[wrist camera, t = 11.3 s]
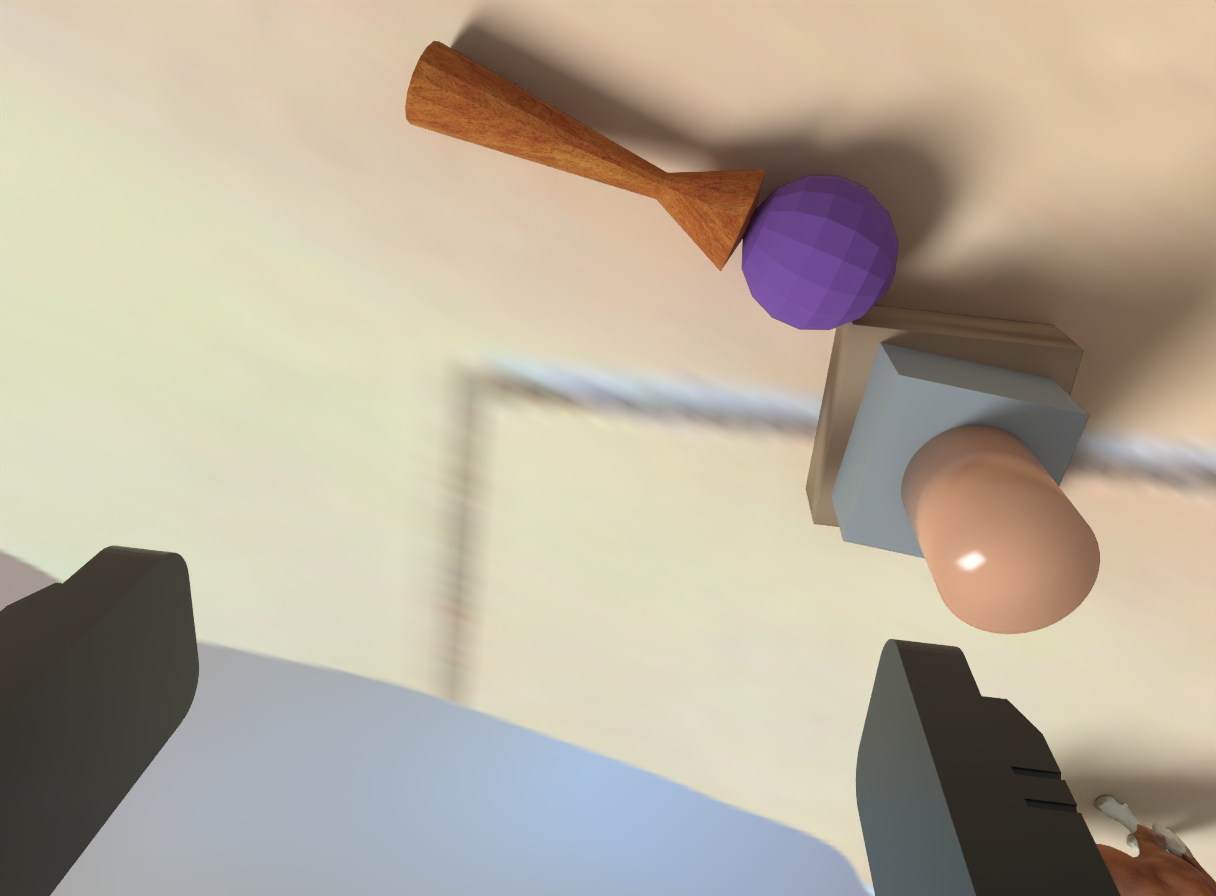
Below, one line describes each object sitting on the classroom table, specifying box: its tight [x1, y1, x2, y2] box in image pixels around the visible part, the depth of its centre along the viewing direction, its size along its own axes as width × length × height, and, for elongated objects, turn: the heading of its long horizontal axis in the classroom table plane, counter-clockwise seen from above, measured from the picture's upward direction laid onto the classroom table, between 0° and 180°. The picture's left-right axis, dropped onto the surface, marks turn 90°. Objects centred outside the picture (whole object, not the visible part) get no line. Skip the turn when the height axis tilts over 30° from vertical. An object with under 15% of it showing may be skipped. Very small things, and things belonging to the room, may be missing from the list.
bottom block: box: [806, 305, 1084, 527], centre depth 41 cm, size 9×9×4 cm
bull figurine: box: [1095, 796, 1216, 896], centre depth 47 cm, size 4×13×8 cm, turn 87°
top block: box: [831, 343, 1089, 558], centre depth 38 cm, size 7×7×4 cm
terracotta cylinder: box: [901, 425, 1100, 634], centre depth 33 cm, size 5×5×6 cm
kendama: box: [405, 41, 898, 330], centre depth 38 cm, size 6×6×20 cm
